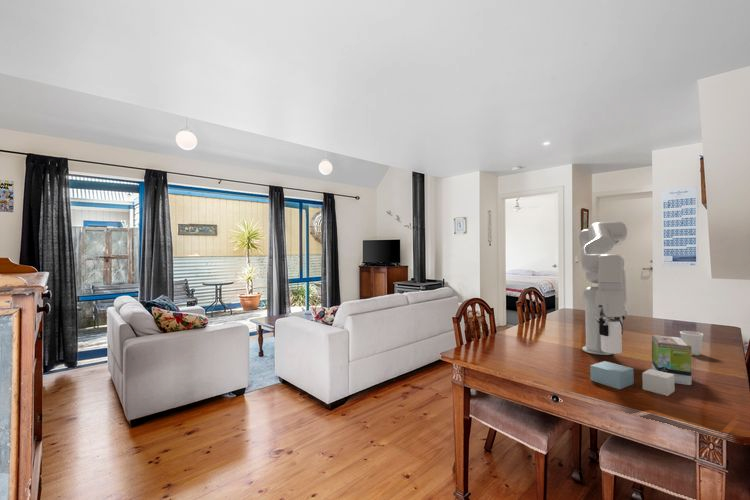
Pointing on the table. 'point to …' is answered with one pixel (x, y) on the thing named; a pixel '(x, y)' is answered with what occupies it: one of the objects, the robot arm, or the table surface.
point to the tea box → (672, 357)
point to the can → (612, 338)
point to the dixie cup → (693, 340)
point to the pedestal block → (612, 374)
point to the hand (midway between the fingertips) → (611, 334)
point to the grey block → (658, 382)
